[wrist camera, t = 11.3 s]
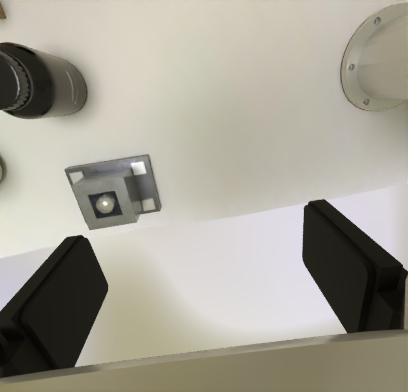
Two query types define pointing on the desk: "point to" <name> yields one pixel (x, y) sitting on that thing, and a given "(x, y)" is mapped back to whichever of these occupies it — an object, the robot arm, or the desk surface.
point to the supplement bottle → (38, 83)
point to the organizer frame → (2, 13)
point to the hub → (104, 182)
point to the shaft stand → (110, 199)
